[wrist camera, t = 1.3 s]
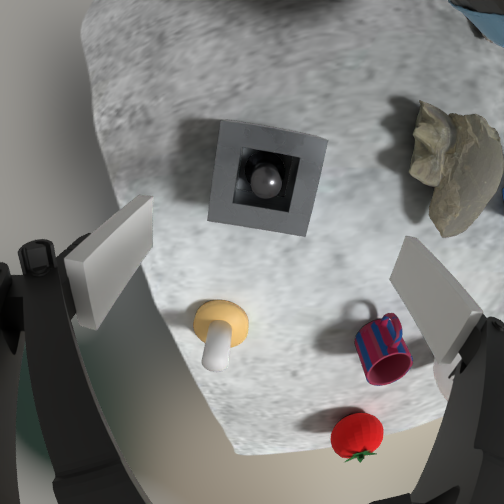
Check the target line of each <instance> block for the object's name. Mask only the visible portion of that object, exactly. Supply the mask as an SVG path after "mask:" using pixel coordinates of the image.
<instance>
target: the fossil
mask: <svg viewBox="0 0 504 504" xmlns="http://www.w3.org/2000/svg"><path fill="white" fill-rule="evenodd" d="M419 102H420V104H421V106H420V112H419V114H418V117H417V120H416V127H415V129H414V132H413V134H412V135H413V136H414V137H415V146H414V152H413V155H412V159H411V165H410V170H409V173H410V174H411V176H413V177H414V178H416V179H418V180H419V181H421V182H422V183H423V184H426V185H429V186H433V187H435V188H434V192H433V197H432V200H431V203H430V206H429V216H430V219H431V220H432V221H433V223H434V224H435V226H436V228H437V229H438V231H439V232H440V235H441V236H442V238H447V237H451V236H456V235H458V234H460V233H462V232H464V231H465V230H467V228H468V227H469V226H470V225H471V224H472V223H473V222H474V221H475V220H476V219H477V218H478V216H479V215H480V214H481V212H482V211H483V209H484V208H485V206H486V205H487V203H488V202H489V201H490V199H491V198H492V197H493V195H494V194H495V193H496V191H497V188H498V186H499V184H500V182H501V178H502V175H503V170H504V169H503V166H504V158H503V154H502V146H501V143H500V137H499V134H498V132H497V131H496V129H495V128H492V127H490V126H489V125H488V123H487V121H486V119H485V118H483V117H482V116H479V115H477V114H471V115H464V116H462V115H458V114H456V113H455V114H454V113H450V114H449V115H447V114H446V113H445V112H443V111H442V110H440V109H439V108H437V107H435V106H433V105H431V104H428V103H425V102H423V101H420V100H419Z"/></svg>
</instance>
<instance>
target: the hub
mask: <svg viewBox="0 0 504 504" xmlns="http://www.w3.org/2000/svg"><path fill="white" fill-rule="evenodd" d="M193 328H194V331H195V334H196V335H197V337H198V338H199V339H200V340H201V341H203V342H204V343H205V347H204V352H203V357H202V365H203V366H204V368H206V369H207V370H209V371H213V372H221V371H224V370H226V369H227V367H228V363H229V354H230V348H231V347H234V346H237V345H239V344H240V343H242V342H243V341H244V340H245V338H246V337H247V334H248V317H247V315H246V313H245V312H244V310H243V309H242V308H241V307H239V306H238V305H236V304H234V303H232V302H229V301H225V300H213V301H209V302H207V303H205V304H203V305H202V306H201V307H200V308H199V309H198V310H197V312H196V316H195V319H194V323H193Z"/></svg>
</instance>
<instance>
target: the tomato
mask: <svg viewBox="0 0 504 504" xmlns="http://www.w3.org/2000/svg"><path fill="white" fill-rule="evenodd" d="M382 440H383V426H382V424H381V422H380V421H379V420H378V419H377V418H376V417H375V416H373V415H370V414H367V413H355V414H352V415H349V416H347V417H345V418H343V419H342V420H340V421H339V422H338V423H337V424H336V425H335V427H334V429H333V431H332V433H331V444H332V448H333V449H334V451H335V453H337V454H338V455H339V456H340V457H342V458H349V459H348V460H346V461H349V460H351V459H354V458H357V459H358V461H359V462H361V461H362V460H363V459H364V456H365V455H374V454H375V453H372V452H373V451H374V450H376V449H377V448H378V447H379V446H380V444H381V442H382ZM346 461H345V462H346Z"/></svg>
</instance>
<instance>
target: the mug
mask: <svg viewBox="0 0 504 504" xmlns="http://www.w3.org/2000/svg"><path fill="white" fill-rule="evenodd" d="M389 318H390V319H391V320H389ZM355 346H356V349H357V352H358V355H359V358H360V361H361V364H362V367H363V370H364V373H365V376H366V379H367V381H368V382H369V383H370V384H372V385H376V386H381V385H387V384H390V383H393V382H395V381H397V380H398V379H400V378H401V377H403V376H404V375H405V374H406V373H407V372H408V371H409V369H410V368H411V366H412V363H413V358H412V356H411V354H410V352H409V350H408V348H407V346H406V344H405V342H404V340H403V338H402V326H401V323H400V321H399V319H398V317H397V316H396V315H395V314H394V313H387V314H385V315H384V316H383V318H382V319H379V320H375V321H372V322H370V323H368V324H366V325H365V326H364V327H363V328H362V329H361V330H360V331H359V332H358V333H357V335H356V338H355Z"/></svg>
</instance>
